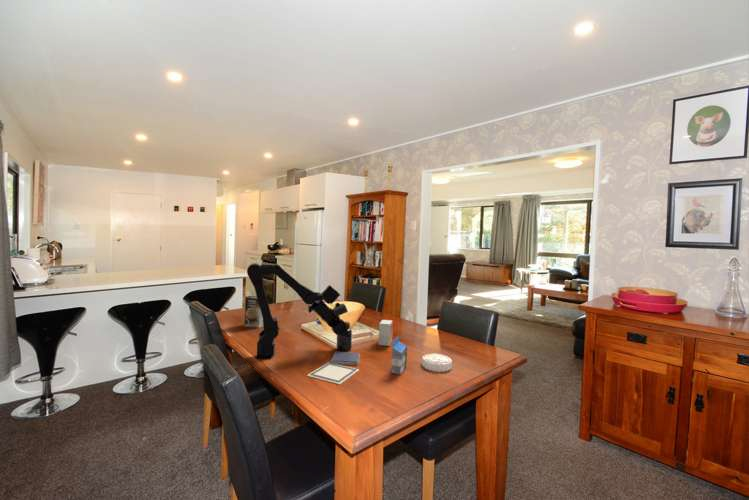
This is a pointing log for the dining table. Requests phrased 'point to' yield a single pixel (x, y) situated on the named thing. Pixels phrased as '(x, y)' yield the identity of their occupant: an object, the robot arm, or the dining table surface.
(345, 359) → the pad
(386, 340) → the small box
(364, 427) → the dining table surface
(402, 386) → the dining table surface
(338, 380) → the marked card
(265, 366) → the dining table surface
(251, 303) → the coffee box
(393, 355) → the label tape cartridge
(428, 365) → the mooncake
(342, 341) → the supplement bottle
